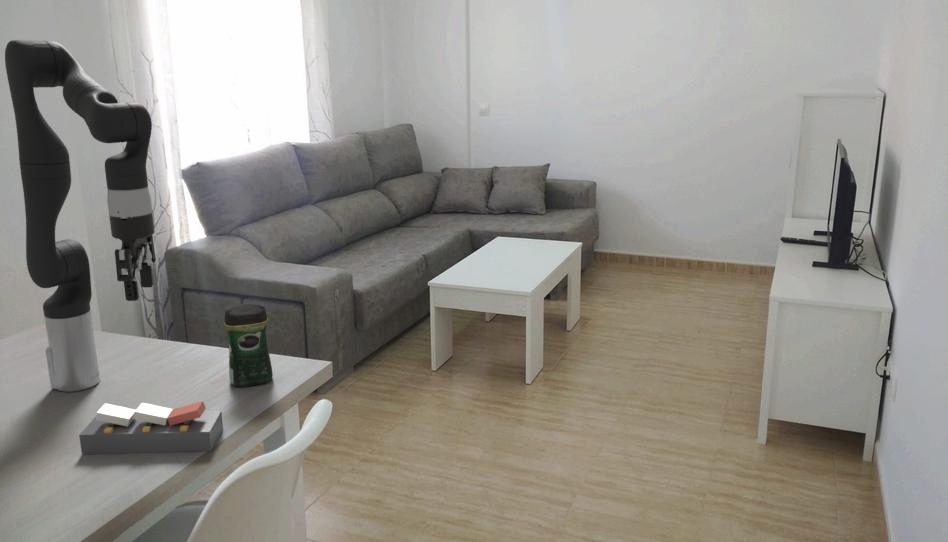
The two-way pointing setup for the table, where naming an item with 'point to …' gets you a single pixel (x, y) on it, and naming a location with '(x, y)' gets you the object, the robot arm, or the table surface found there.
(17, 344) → the table surface
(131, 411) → the rocker
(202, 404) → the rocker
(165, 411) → the block
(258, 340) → the coffee jar
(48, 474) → the table surface
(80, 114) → the robot arm
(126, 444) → the switch panel
